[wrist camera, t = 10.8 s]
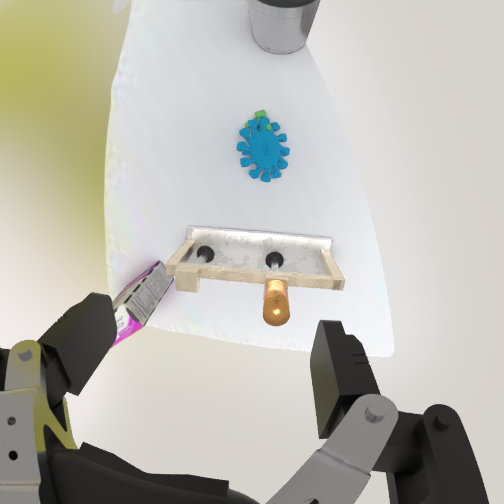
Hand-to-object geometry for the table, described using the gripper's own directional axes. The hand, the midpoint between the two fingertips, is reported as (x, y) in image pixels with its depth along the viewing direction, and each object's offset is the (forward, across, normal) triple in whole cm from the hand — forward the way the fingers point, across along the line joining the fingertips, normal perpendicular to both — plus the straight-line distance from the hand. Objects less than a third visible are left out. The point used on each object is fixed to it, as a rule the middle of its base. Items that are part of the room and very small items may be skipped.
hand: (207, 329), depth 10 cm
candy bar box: (+38, +20, +20) cm, 48 cm away
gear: (+38, -1, -7) cm, 39 cm away
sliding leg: (+36, -4, +11) cm, 38 cm away
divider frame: (+38, -1, +12) cm, 40 cm away
